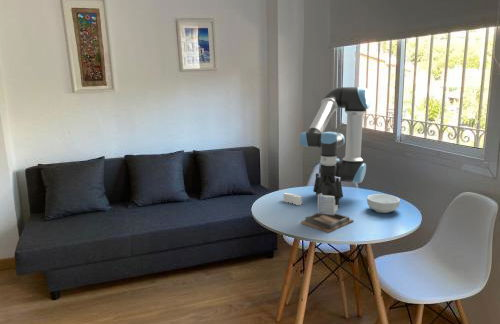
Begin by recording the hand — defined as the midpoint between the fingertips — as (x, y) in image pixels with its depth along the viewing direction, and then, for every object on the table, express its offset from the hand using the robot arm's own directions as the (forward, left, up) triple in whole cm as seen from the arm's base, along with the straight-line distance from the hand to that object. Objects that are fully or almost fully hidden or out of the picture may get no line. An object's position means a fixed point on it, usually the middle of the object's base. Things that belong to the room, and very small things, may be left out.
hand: (327, 208), depth 200 cm
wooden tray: (0, 0, -7) cm, 7 cm away
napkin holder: (-11, -33, -8) cm, 35 cm away
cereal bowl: (-35, +10, -8) cm, 37 cm away
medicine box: (0, 0, -3) cm, 3 cm away
